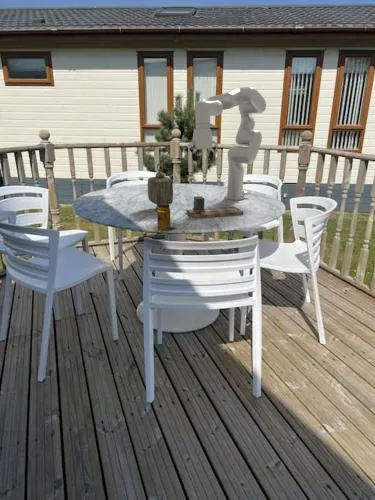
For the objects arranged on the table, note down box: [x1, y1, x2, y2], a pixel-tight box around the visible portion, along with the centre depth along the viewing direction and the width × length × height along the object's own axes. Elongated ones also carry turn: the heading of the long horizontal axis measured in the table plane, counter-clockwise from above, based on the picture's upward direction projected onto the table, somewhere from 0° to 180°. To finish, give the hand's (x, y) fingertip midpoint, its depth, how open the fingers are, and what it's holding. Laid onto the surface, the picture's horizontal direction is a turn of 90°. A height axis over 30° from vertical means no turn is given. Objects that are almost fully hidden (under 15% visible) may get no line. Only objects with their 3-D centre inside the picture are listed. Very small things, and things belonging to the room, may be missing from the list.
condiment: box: [154, 203, 177, 233], centre depth 164 cm, size 7×8×12 cm
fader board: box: [185, 205, 244, 219], centre depth 191 cm, size 28×12×2 cm, turn 108°
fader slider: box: [192, 195, 206, 213], centre depth 187 cm, size 5×6×7 cm
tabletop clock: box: [147, 163, 174, 211], centre depth 193 cm, size 14×9×25 cm, turn 28°
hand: (202, 159), depth 193 cm, fingers open, 9 cm apart
